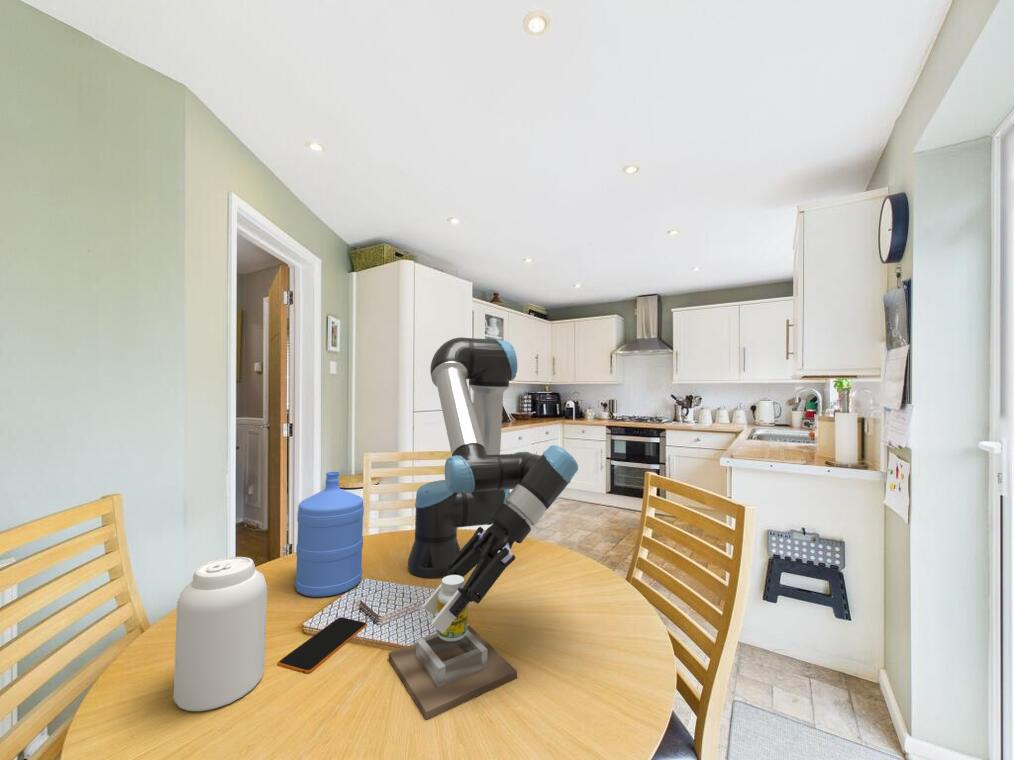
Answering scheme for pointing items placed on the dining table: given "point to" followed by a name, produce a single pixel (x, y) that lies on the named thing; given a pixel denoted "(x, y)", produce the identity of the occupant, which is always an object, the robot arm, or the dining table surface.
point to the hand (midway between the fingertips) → (432, 619)
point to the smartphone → (322, 645)
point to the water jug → (329, 541)
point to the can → (220, 634)
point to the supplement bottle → (461, 621)
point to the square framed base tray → (449, 671)
